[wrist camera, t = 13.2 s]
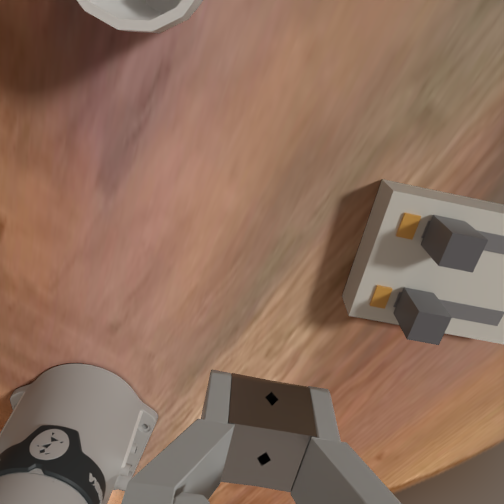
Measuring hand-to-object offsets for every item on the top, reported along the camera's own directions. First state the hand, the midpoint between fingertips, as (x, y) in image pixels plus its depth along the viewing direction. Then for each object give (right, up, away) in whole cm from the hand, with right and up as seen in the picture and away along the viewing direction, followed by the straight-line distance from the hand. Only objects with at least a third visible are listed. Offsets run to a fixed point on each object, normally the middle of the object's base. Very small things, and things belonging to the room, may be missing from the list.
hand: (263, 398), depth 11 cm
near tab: (+18, +6, +30) cm, 36 cm away
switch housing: (+21, +3, +36) cm, 42 cm away
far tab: (+16, -2, +34) cm, 37 cm away
